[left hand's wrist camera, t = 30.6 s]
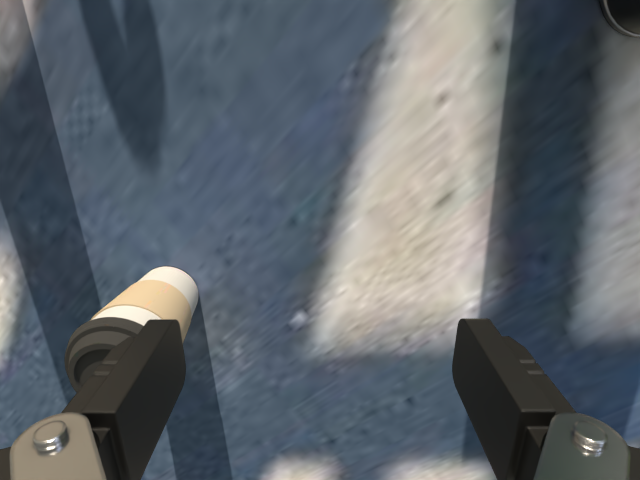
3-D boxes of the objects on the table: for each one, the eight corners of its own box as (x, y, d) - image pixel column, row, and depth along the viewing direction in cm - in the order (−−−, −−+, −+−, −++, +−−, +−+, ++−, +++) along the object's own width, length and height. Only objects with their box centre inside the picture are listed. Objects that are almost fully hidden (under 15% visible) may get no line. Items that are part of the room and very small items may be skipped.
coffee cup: (124, 315, 48) (44, 409, 34) (136, 247, 45) (54, 320, 31) (199, 335, 49) (151, 434, 35) (216, 271, 46) (171, 351, 32)
